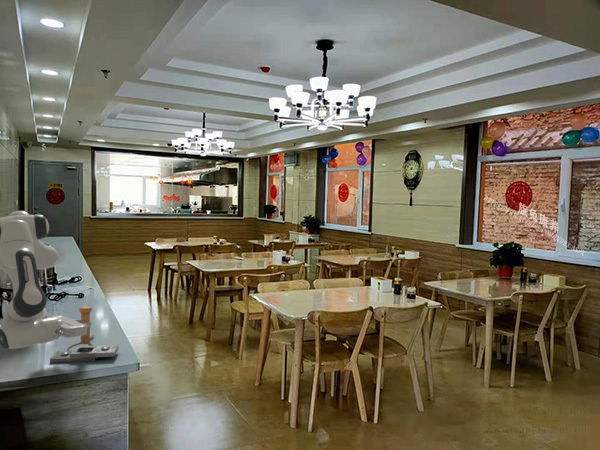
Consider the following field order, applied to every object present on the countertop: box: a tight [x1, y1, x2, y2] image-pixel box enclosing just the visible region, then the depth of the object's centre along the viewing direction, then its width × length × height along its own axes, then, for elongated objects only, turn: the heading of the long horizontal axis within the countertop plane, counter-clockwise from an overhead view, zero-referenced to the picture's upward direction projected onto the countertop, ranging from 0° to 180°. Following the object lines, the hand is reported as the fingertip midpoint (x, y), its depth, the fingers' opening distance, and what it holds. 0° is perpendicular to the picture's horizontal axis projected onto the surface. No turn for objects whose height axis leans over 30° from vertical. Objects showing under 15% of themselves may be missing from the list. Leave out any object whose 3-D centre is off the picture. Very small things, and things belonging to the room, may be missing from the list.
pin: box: [78, 306, 93, 345], centre depth 176 cm, size 4×4×14 cm
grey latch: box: [49, 344, 119, 364], centre depth 177 cm, size 9×23×4 cm, turn 102°
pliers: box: [66, 334, 94, 351], centre depth 193 cm, size 10×1×20 cm
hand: (87, 322), depth 176 cm, fingers closed on pin, 3 cm apart
